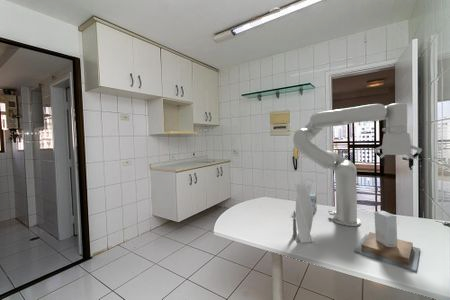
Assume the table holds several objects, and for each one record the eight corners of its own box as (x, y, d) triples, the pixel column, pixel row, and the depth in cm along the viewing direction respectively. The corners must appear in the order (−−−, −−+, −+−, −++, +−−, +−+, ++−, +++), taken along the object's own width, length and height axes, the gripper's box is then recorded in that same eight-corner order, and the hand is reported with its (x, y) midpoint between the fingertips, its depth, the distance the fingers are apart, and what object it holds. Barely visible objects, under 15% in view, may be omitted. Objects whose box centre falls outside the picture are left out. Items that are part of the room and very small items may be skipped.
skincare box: (398, 246, 78) (398, 216, 77) (386, 247, 78) (386, 216, 77) (384, 238, 84) (384, 210, 83) (374, 239, 84) (373, 211, 83)
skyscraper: (310, 235, 97) (308, 177, 95) (317, 244, 89) (316, 180, 87) (292, 236, 97) (290, 178, 95) (298, 245, 89) (296, 181, 87)
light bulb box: (317, 209, 128) (316, 192, 127) (315, 213, 122) (314, 195, 121) (299, 207, 133) (298, 191, 133) (296, 210, 128) (296, 193, 127)
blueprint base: (354, 252, 81) (354, 244, 81) (365, 235, 93) (365, 229, 93) (416, 272, 68) (416, 263, 68) (419, 249, 80) (420, 242, 80)
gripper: (372, 131, 98) (372, 166, 100) (421, 129, 86) (421, 169, 87) (375, 131, 104) (375, 164, 105) (422, 128, 91) (422, 166, 92)
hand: (396, 166), depth 96 cm, fingers open, 9 cm apart
